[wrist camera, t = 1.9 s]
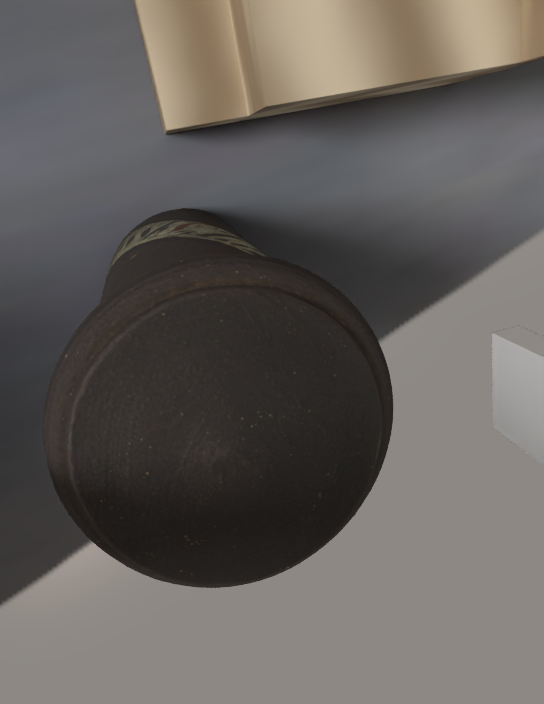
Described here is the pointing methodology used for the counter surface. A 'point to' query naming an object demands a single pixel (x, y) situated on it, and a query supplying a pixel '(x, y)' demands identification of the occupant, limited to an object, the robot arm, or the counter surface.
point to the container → (215, 408)
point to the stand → (322, 51)
